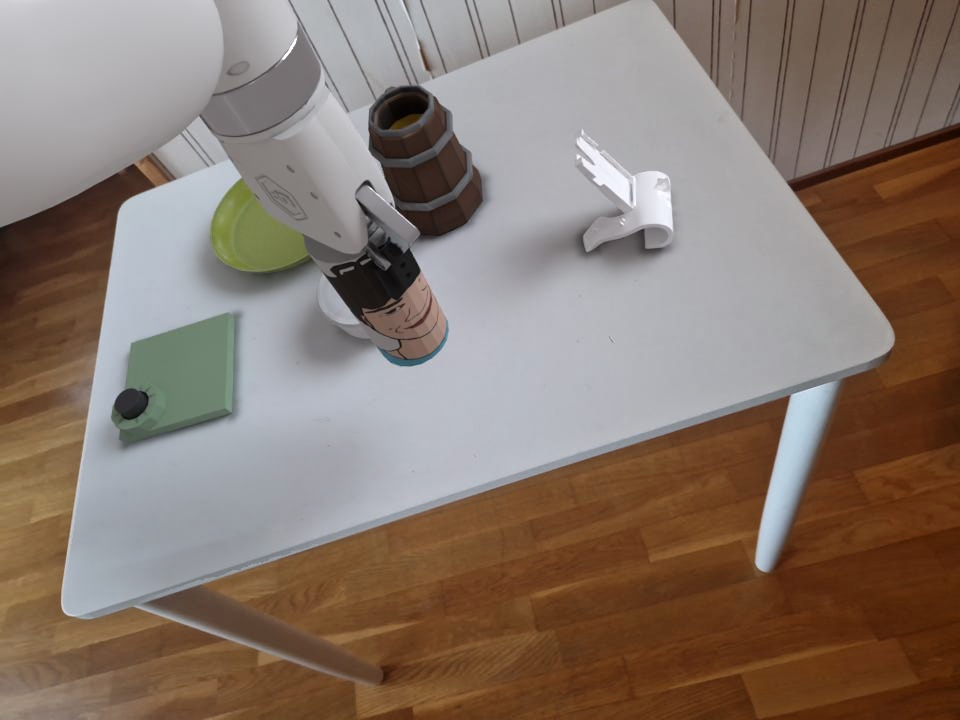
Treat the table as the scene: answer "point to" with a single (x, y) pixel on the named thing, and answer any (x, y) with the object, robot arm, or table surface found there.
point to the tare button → (131, 403)
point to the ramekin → (337, 309)
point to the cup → (385, 304)
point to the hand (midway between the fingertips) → (371, 267)
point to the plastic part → (626, 198)
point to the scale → (180, 378)
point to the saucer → (253, 235)
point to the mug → (423, 159)
